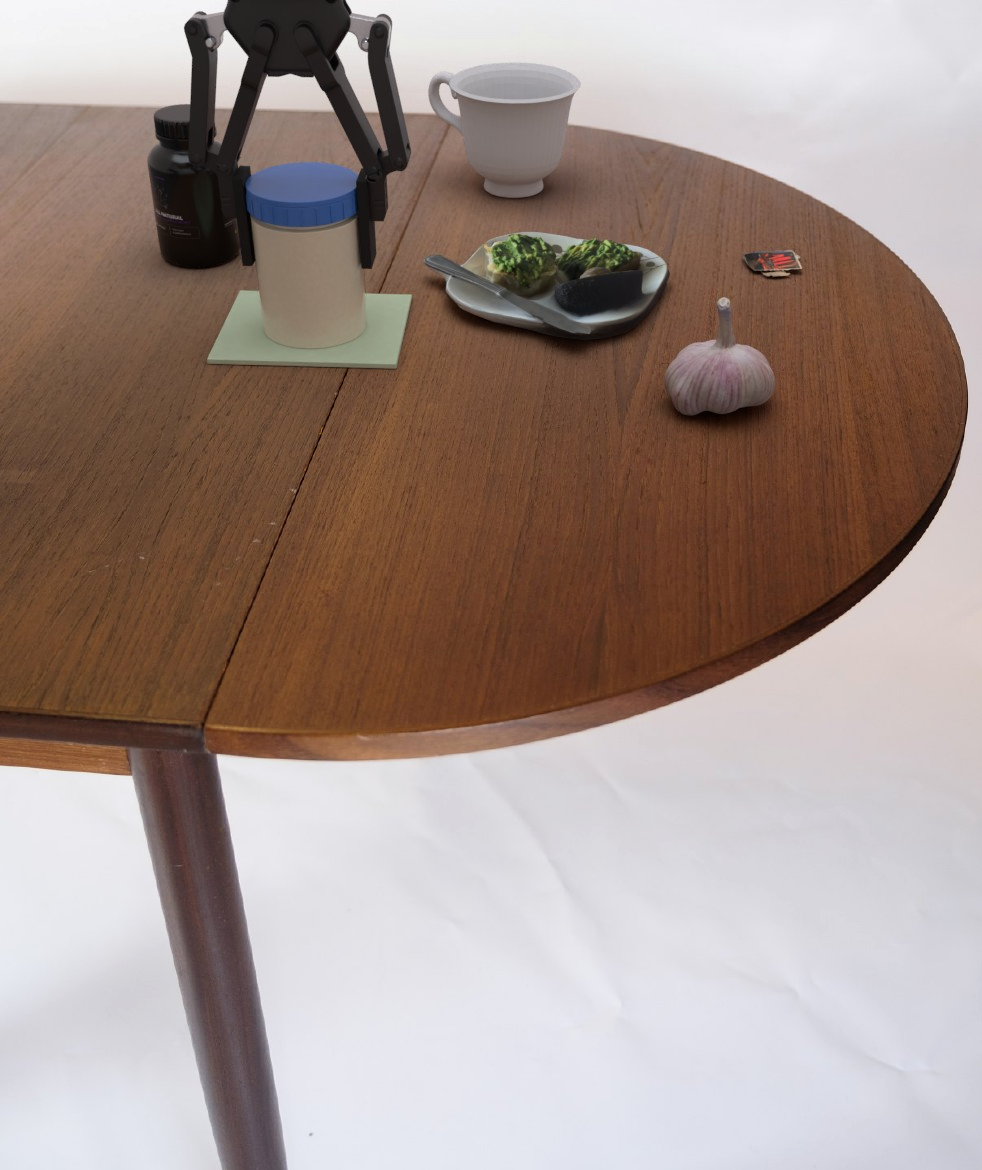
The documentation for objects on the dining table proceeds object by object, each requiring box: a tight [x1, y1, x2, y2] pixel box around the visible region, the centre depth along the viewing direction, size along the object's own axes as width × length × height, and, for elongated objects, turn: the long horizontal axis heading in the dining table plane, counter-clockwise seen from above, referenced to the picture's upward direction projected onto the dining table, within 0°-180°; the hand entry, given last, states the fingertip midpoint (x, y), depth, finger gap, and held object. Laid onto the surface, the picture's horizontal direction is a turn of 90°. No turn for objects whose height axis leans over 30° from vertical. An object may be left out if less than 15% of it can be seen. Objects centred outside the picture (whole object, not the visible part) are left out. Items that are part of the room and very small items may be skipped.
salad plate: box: [423, 231, 671, 341], centre depth 103 cm, size 19×18×5 cm
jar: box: [250, 212, 367, 349], centre depth 95 cm, size 8×8×10 cm
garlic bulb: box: [664, 296, 776, 416], centre depth 87 cm, size 8×7×8 cm
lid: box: [245, 161, 359, 227], centre depth 92 cm, size 8×8×2 cm
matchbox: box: [742, 249, 803, 278], centre depth 108 cm, size 5×5×1 cm
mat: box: [206, 289, 413, 370], centre depth 99 cm, size 14×12×1 cm
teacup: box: [427, 62, 581, 199], centre depth 121 cm, size 12×15×10 cm
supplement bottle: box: [146, 103, 240, 269], centre depth 107 cm, size 7×7×12 cm
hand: (310, 259), depth 95 cm, fingers closed on lid, 8 cm apart
